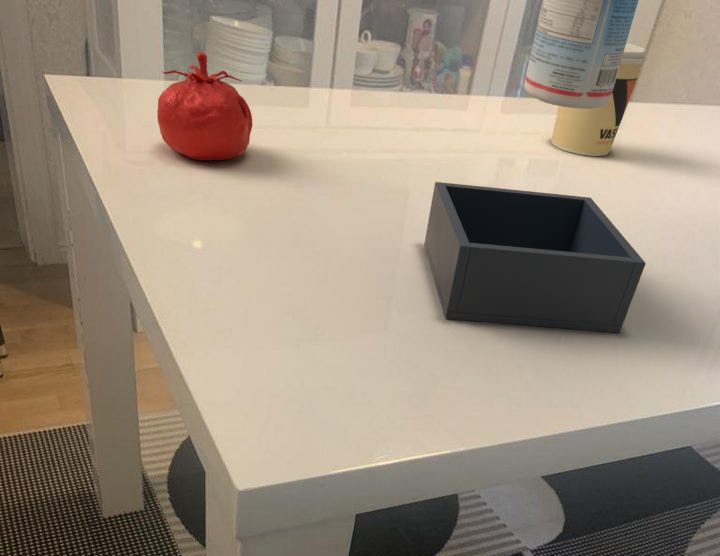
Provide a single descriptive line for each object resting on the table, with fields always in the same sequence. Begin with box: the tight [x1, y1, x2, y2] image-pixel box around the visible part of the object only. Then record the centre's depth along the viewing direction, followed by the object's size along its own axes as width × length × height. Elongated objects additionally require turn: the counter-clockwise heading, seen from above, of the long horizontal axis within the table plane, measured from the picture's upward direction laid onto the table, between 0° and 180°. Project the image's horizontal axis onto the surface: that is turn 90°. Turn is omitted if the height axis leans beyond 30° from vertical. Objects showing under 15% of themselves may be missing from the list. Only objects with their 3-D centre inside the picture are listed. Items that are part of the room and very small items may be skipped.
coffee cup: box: [551, 42, 647, 157], centre depth 94 cm, size 9×9×12 cm
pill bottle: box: [523, 0, 639, 109], centre depth 48 cm, size 6×6×11 cm
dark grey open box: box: [423, 181, 646, 333], centre depth 59 cm, size 14×14×6 cm
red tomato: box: [156, 51, 253, 161], centre depth 75 cm, size 10×10×9 cm
